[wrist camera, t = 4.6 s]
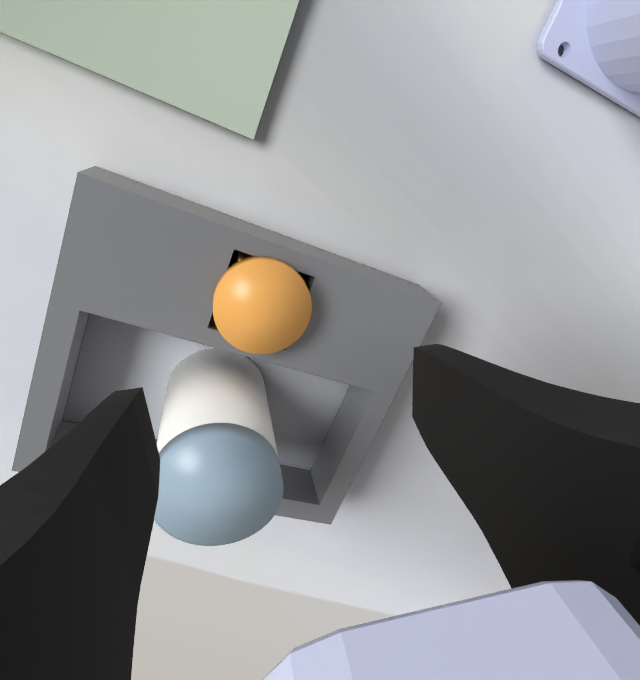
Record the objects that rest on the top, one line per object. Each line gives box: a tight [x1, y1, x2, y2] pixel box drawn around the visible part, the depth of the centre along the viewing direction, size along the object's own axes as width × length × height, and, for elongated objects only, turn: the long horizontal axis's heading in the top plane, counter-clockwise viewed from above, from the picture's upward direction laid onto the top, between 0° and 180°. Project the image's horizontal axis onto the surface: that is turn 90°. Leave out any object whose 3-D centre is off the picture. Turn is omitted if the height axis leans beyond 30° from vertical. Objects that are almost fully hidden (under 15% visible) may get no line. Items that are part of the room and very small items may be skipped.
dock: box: [12, 166, 441, 524], centre depth 21 cm, size 14×12×2 cm
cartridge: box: [154, 348, 283, 546], centre depth 19 cm, size 4×4×7 cm
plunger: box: [213, 250, 312, 354], centre depth 19 cm, size 4×4×3 cm
